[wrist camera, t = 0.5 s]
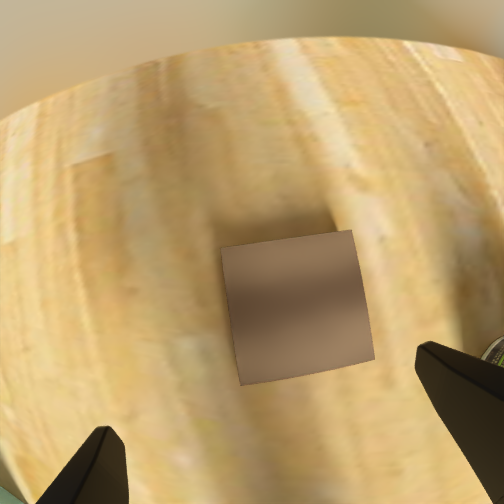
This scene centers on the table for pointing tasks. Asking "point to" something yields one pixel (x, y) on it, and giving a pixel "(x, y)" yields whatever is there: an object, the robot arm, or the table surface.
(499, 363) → the coffee can
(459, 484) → the table surface
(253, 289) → the walnut block
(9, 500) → the pale teal tapered block
